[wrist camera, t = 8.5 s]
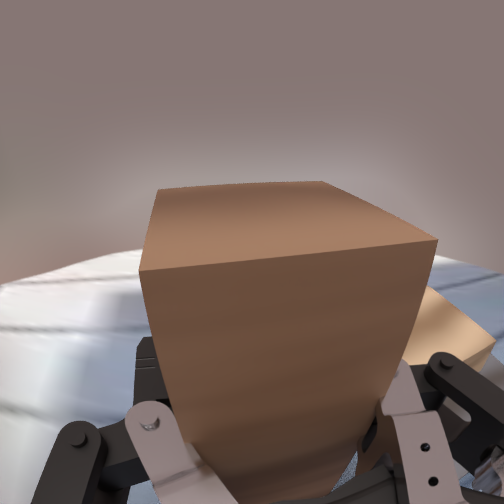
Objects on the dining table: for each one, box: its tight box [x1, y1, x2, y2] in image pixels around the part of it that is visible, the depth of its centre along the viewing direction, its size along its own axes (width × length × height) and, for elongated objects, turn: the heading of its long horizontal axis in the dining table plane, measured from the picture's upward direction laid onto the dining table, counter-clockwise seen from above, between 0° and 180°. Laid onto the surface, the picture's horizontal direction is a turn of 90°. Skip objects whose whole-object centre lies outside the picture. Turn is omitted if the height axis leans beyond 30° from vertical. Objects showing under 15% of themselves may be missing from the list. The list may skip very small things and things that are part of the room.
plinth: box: [402, 286, 504, 480], centre depth 22 cm, size 24×16×4 cm, turn 14°
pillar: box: [139, 181, 438, 504], centre depth 9 cm, size 5×5×12 cm
